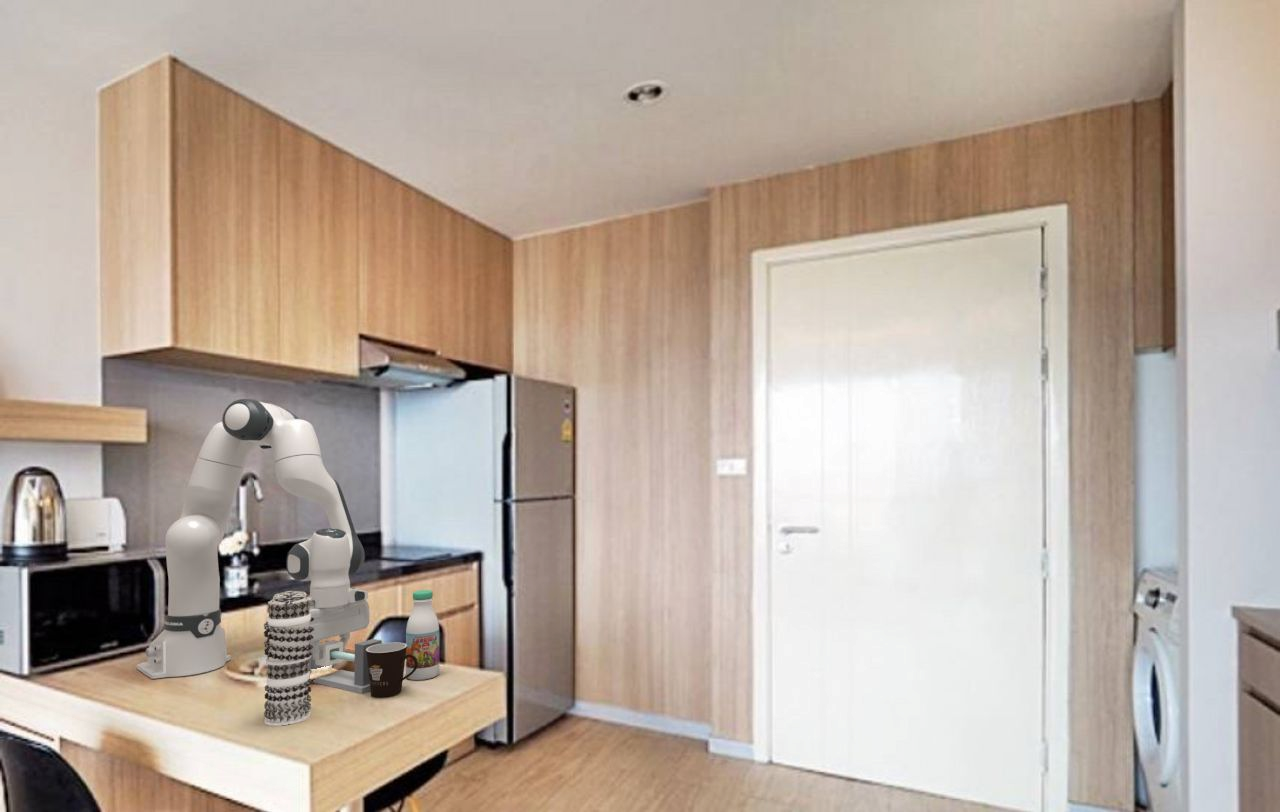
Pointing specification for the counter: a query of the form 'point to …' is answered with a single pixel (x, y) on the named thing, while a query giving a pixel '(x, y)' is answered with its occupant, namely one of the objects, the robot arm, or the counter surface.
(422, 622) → the milk bottle
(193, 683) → the counter surface
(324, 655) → the marker sleeve
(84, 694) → the counter surface
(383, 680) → the coffee mug
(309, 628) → the decorative candle
